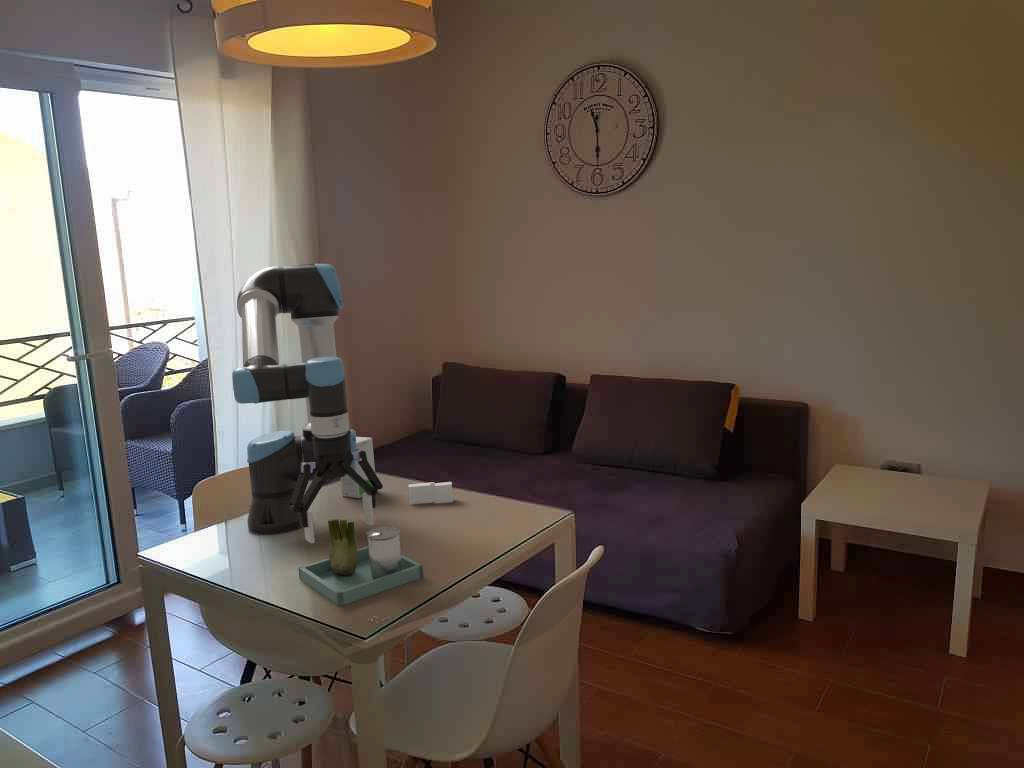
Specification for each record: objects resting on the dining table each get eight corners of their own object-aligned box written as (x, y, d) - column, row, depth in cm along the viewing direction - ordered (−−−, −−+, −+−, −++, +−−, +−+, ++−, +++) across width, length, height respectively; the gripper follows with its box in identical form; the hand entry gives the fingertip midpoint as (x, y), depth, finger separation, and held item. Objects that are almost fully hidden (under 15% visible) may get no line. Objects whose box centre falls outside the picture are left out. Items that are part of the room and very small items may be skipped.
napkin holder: (397, 507, 218) (395, 486, 217) (423, 494, 228) (421, 474, 227) (443, 514, 211) (442, 492, 210) (468, 500, 220) (466, 480, 219)
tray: (300, 583, 170) (298, 567, 170) (380, 557, 182) (378, 542, 181) (339, 611, 157) (338, 593, 156) (423, 581, 168) (422, 565, 167)
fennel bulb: (362, 573, 171) (357, 518, 169) (342, 581, 168) (336, 525, 166) (346, 566, 175) (341, 513, 173) (326, 574, 172) (321, 519, 170)
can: (364, 579, 168) (360, 532, 167) (392, 570, 172) (388, 524, 171) (380, 588, 163) (376, 540, 161) (409, 579, 167) (405, 531, 165)
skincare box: (358, 499, 225) (353, 444, 223) (340, 496, 229) (335, 442, 226) (378, 490, 232) (373, 437, 230) (360, 487, 236) (355, 435, 233)
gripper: (280, 449, 156) (291, 554, 160) (393, 424, 171) (401, 521, 175) (264, 442, 162) (275, 543, 166) (375, 419, 177) (383, 512, 181)
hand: (340, 532), depth 171 cm, fingers open, 13 cm apart
